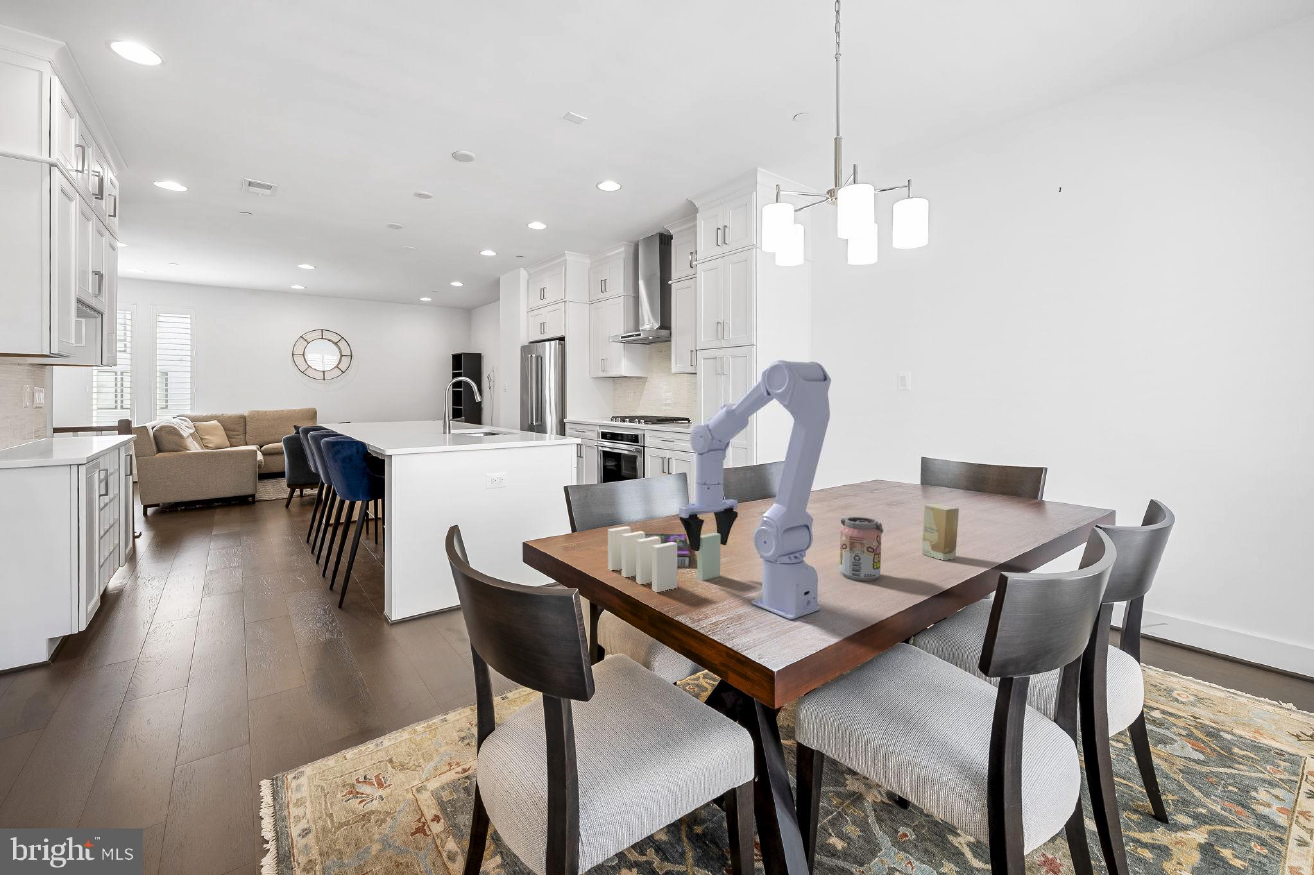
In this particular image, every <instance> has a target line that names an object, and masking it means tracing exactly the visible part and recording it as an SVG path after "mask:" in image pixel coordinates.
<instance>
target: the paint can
mask: <svg viewBox="0 0 1314 875" xmlns="http://www.w3.org/2000/svg"><path fill="white" fill-rule="evenodd" d="M840 523H841V525H843V526H842V527H841V530H840V542H839V543H840V544H839V547H840V548H839V571H840V573H841V575H842V576H843V577H844V578H846V579H849V580H851V581H852V580H853V581H859V582H873V581H876V580H877V579H878V578H879V577H880V576H881V565H882V564H881V563H882V562H881V559H882V534H883V533H884V528H883V523H882V522H879V521H878V520H876V519H875V518H871V517H864V516H849V517H848V516H847V517H846V518H841V520H840Z"/></svg>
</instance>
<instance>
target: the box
mask: <svg viewBox="0 0 1314 875" xmlns="http://www.w3.org/2000/svg"><path fill="white" fill-rule="evenodd" d="M655 536H657V537H659V538H661V544H664V543H669V542H674V543H677V567H690V566H691V552H690V549H689V544H688V543H689V542H688V537H687V533H686V534H685V533H684V534H683V533H682V534H679V533H678V534H676V533H675V534H674V533H671V534H670V533H645V538H650V537H655Z"/></svg>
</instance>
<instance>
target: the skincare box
mask: <svg viewBox="0 0 1314 875" xmlns="http://www.w3.org/2000/svg"><path fill="white" fill-rule="evenodd" d="M923 512H924V514H923V527H922V542H921V543H922V544H921V554H922V555H925V556H928V557H930V558H933V557H934V558H933V559H937V560H939V559H941V560H940V561H942V560H945V561H949V560H948V559H951V560H955V559H956V557H957V556H956V553H957V543H958V542H957V541H958V540H957V539H958V526H959V512H960V509H959V507H954V506H950V505H946V504H941V503H929V504H924V511H923ZM954 558H955V559H954Z"/></svg>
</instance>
